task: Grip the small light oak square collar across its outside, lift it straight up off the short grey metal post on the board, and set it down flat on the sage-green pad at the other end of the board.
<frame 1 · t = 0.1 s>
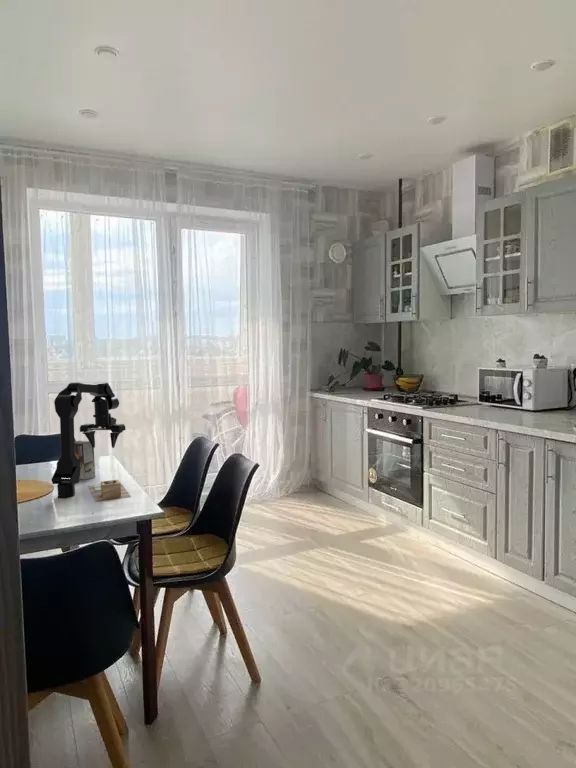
hand: (103, 447, 245), 15 cm above the table, tool pointing down, fingers open, 9 cm apart
board: (108, 494, 224), on the table
coffee box: (83, 477, 255), on the table
collar: (111, 495, 218), point 1 cm above the table, touching board
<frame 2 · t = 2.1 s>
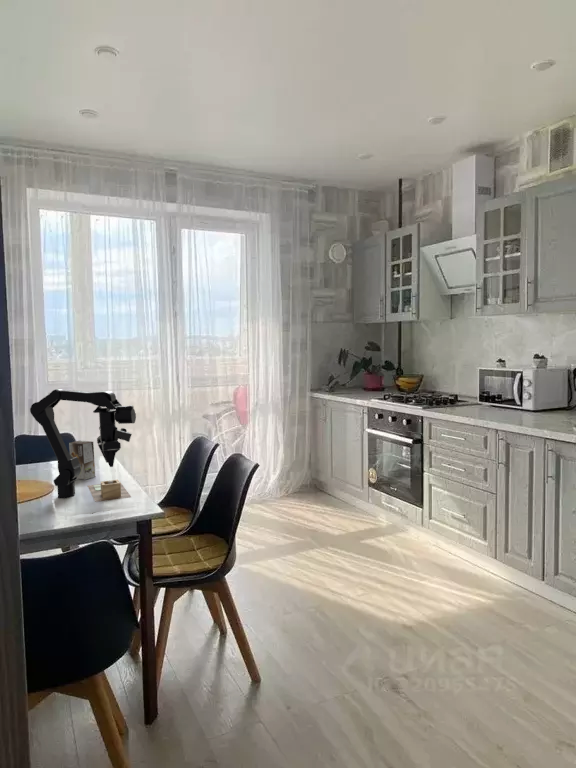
hand: (109, 464, 217), 13 cm above the table, tool pointing down, fingers open, 9 cm apart
nothing on the table moved.
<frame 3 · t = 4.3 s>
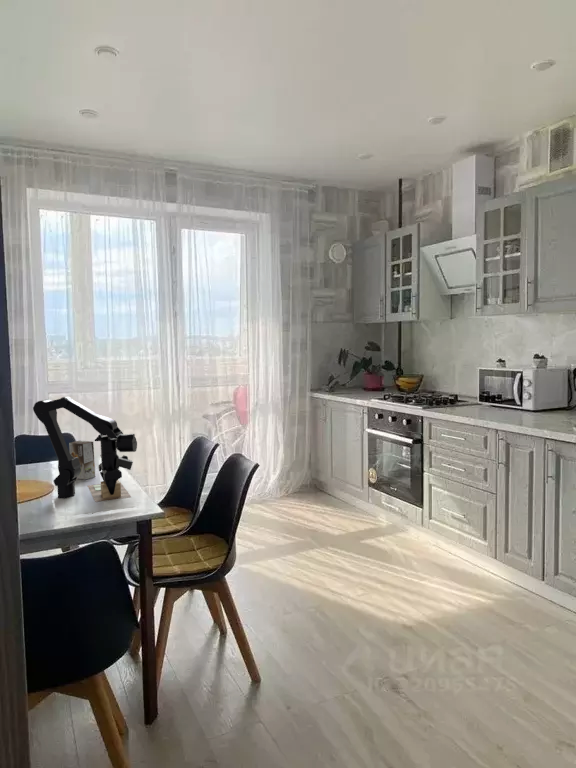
hand: (110, 492, 218), 2 cm above the table, tool pointing down, fingers closed on collar, 6 cm apart
collar: (111, 495, 218), point 1 cm above the table, touching board, gripper
everything else where it was.
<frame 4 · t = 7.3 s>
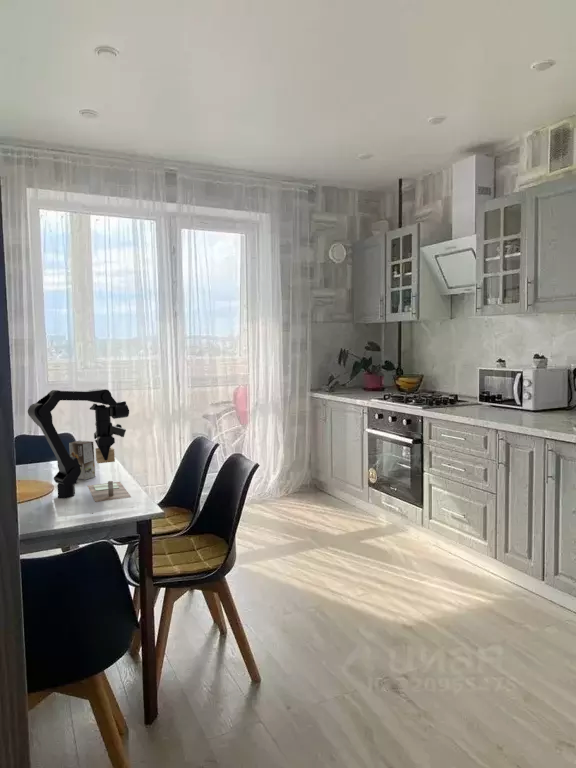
hand: (105, 458, 229), 13 cm above the table, tool pointing down, fingers closed on collar, 6 cm apart
collar: (105, 461, 229), point 12 cm above the table, touching gripper
everything else where it was.
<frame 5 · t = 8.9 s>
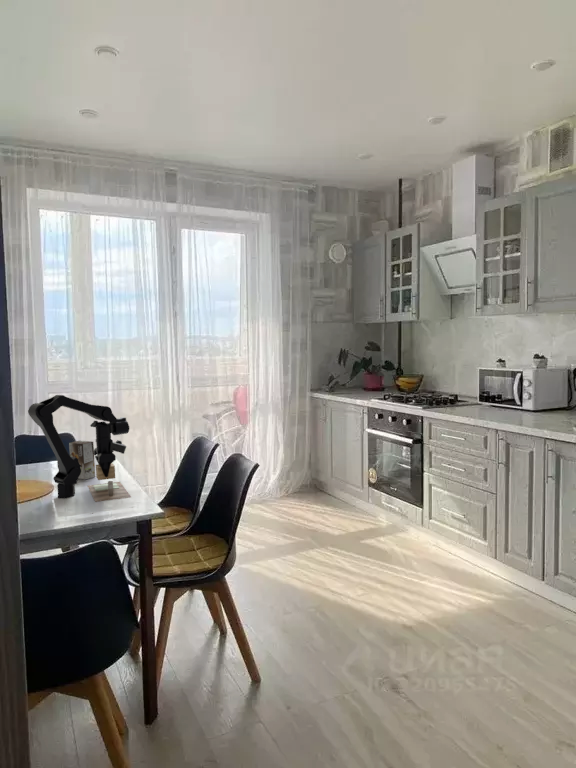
hand: (105, 475, 230), 6 cm above the table, tool pointing down, fingers closed on collar, 6 cm apart
collar: (105, 477, 230), point 5 cm above the table, touching gripper
everything else where it was.
when the fingers open (4 cm above the table, at t = 10.4 s): collar drops 1 cm, resting on board.
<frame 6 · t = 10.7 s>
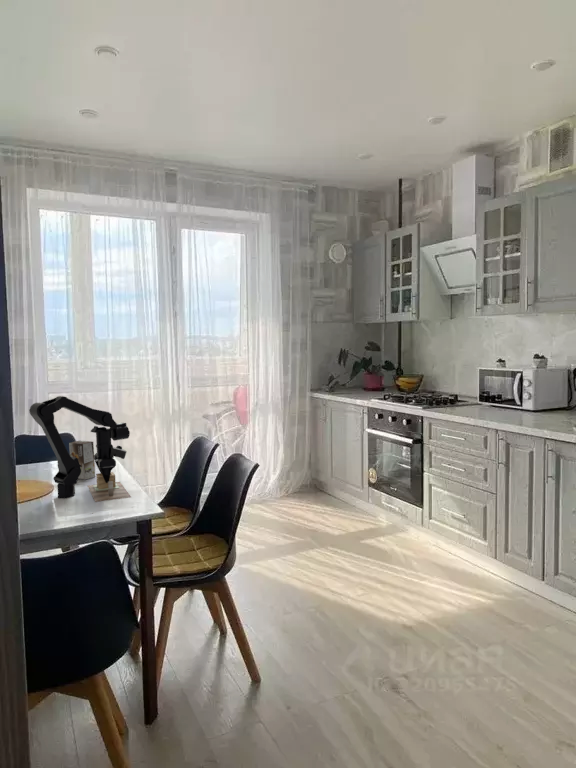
hand: (105, 480, 230), 4 cm above the table, tool pointing down, fingers open, 9 cm apart
collar: (106, 486, 231), point 1 cm above the table, touching board
everything else where it was.
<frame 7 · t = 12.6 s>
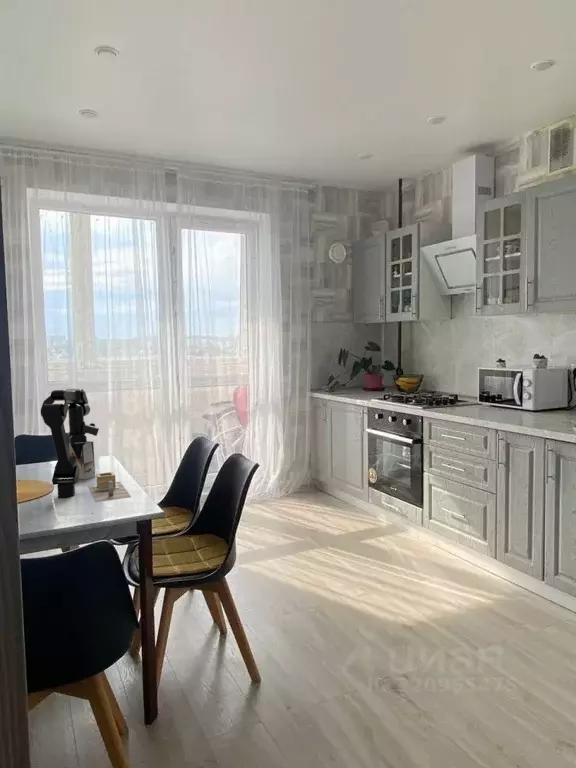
hand: (78, 456, 234), 13 cm above the table, tool pointing down, fingers open, 9 cm apart
nothing on the table moved.
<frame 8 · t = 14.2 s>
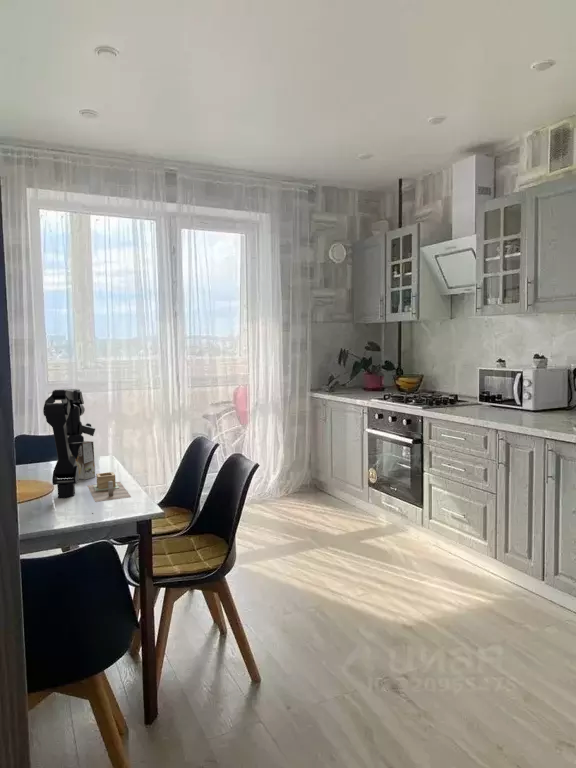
hand: (74, 457, 235), 13 cm above the table, tool pointing down, fingers open, 9 cm apart
nothing on the table moved.
at the end: collar 0.2 cm from the target spot, point 1.5 cm above the table; collar tilted 0°; the gripper is holding nothing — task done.
